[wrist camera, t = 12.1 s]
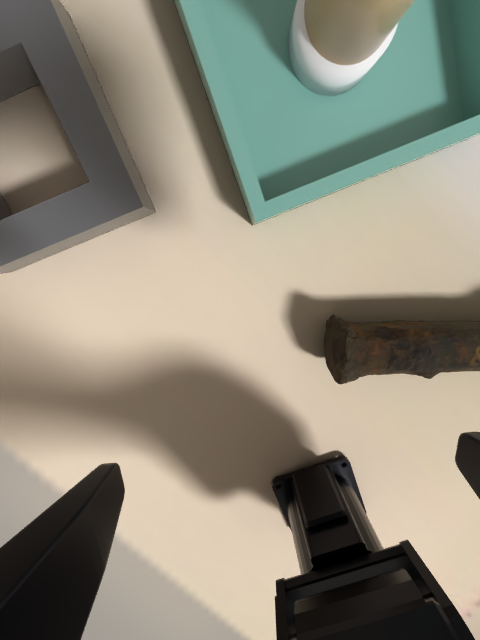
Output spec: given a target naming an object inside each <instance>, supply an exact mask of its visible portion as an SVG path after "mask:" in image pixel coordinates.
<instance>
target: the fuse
mask: <svg viewBox="0 0 480 640" xmlns="http://www.w3.org/2000/svg"><path fill="white" fill-rule="evenodd" d="M414 1H415V0H297V3H296V7H295V10H294V14H293V17H292V21H291V24H290V29H289V34H288V55H289V60H290V63H291V67H292V69H293V71H294V73H295V75H296V77H297V78H298V80H299V81H300V82H301V83H302V84H303V85H304V86H305V87H306V88H307V89H309V90H310V91H312V92H314V93H316V94H319V95H322V96H336V95H340V94H343V93H345V92H347V91H349V90H351V89H352V88H354V87H355V86H356V85H357V84H358V83H359V82H360V81H361V80H362V79H363V78H364V76H365V75H366V74H367V73H368V71H369V70H370V69H371V68H372V66H373V65H374V64H375V63H376V62H377V60H378V59H379V58H380V57H381V55H382V54H383V53H384V51H385V50H386V49H387V47H388V46H389V44H390V42H391V40H392V38H393V36H394V34H395V32H396V28H397V25H398V22H399V21H400V19H401V18H402V17H403V16H404V14H405V13H406V12H407V10H408V9H409V8H410V6H411V5H412V4H413V2H414Z"/></svg>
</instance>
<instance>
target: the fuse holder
mask: <svg viewBox="0 0 480 640" xmlns="http://www.w3.org/2000/svg"><path fill="white" fill-rule="evenodd" d="M39 83H41V84H42V86H43V88H44V90H45V92H46V94H47V96H48V98H49V101H50V103H51V105H52V107H53V109H54V111H55V113H56V115H57V117H58V119H59V121H60V123H61V125H62V127H63V129H64V131H65V133H66V135H67V137H68V139H69V141H70V143H71V145H72V147H73V149H74V151H75V154H76V156H77V158H78V160H79V162H80V164H81V166H82V168H83V170H84V172H85V174H86V176H87V178H88V180H89V182H88V183H85V184H83V185H81V186H78V187H76V188H74V189H71V190H69V191H67V192H65V193H62V194H60V195H58V196H55V197H53V198H51V199H48V200H46V201H44V202H41V203H39V204H37V205H34V206H32V207H30V208H27V209H25V210H23V211H20V212H18V213H16V214H12V212H11V211H10V209H9V207H8V206H7V204H6V202H5V200H4V199H3V197H2V195H1V194H0V274H1V273H8V272H13V271H15V270H18V269H20V268H22V267H25V266H27V265H30V264H32V263H34V262H37V261H39V260H42V259H44V258H47V257H49V256H51V255H54V254H56V253H59V252H61V251H63V250H66V249H68V248H71V247H73V246H75V245H78V244H80V243H83V242H85V241H88V240H90V239H92V238H95V237H97V236H100V235H102V234H104V233H107V232H109V231H112V230H114V229H116V228H119V227H121V226H124V225H126V224H129V223H131V222H133V221H136V220H138V219H141V218H143V217H145V216H148V215H150V214H153V213H155V212H156V211H155V208H154V206H153V204H152V202H151V199H150V197H149V195H148V192H147V190H146V188H145V186H144V183H143V181H142V179H141V177H140V174H139V172H138V170H137V167H136V165H135V163H134V161H133V158H132V156H131V154H130V151H129V149H128V147H127V145H126V142H125V140H124V138H123V136H122V133H121V131H120V129H119V126H118V124H117V122H116V120H115V117H114V115H113V113H112V110H111V108H110V106H109V104H108V101H107V99H106V97H105V95H104V92H103V90H102V88H101V85H100V83H99V81H98V79H97V76H96V74H95V72H94V70H93V67H92V65H91V63H90V60H89V58H88V56H87V54H86V51H85V49H84V47H83V44H82V42H81V40H80V38H79V35H78V33H77V31H76V29H75V26H74V24H73V22H72V19H71V17H70V15H69V13H68V12H67V11H66V9H65V8H64V6H63V5H62V4H61V2H60V1H59V0H0V101H3V100H5V99H7V98H9V97H11V96H13V95H15V94H18V93H20V92H22V91H24V90H26V89H28V88H31V87H33V86H35V85H37V84H39Z"/></svg>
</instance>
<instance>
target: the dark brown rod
mask: <svg viewBox="0 0 480 640" xmlns="http://www.w3.org/2000/svg"><path fill="white" fill-rule="evenodd" d="M324 354H325V359H326V364H327V367H328V369H329V371H330V372H331V374H332V376H333V378H334V380H335V381H336V382H337V383H338V384H344V383H347V382H350V381H354V380H356V379H358V378H359V377H363V376H366V375H384V374H386V375H387V374H400V373H402V374H411V375H418V376H422V377H424V378H428V379H431V378H432V377H434V376H435V375H437V374H438V373H441V372H460V371H480V322H467V321H449V322H423V321H418V322H416V321H394V322H381V323H348V322H344V321H342V320H341V319H340V318H338V317H336V316H335V315H332V316H331V317H330V319H328V320H327V323H326V332H325V336H324Z"/></svg>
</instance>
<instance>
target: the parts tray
mask: <svg viewBox="0 0 480 640" xmlns="http://www.w3.org/2000/svg"><path fill="white" fill-rule="evenodd" d="M174 3H175V6H176V9H177V11H178V14H179V17H180V20H181V23H182V26H183V29H184V31H185V34H186V37H187V40H188V43H189V46H190V49H191V52H192V54H193V57H194V60H195V63H196V66H197V69H198V72H199V74H200V77H201V80H202V83H203V86H204V89H205V92H206V95H207V97H208V100H209V103H210V106H211V109H212V112H213V115H214V117H215V120H216V123H217V126H218V129H219V132H220V135H221V138H222V140H223V143H224V146H225V149H226V152H227V155H228V158H229V160H230V163H231V166H232V169H233V172H234V175H235V178H236V181H237V183H238V186H239V189H240V192H241V195H242V198H243V201H244V203H245V206H246V209H247V212H248V215H249V218H250V221H251V223H252V225H255V224H257V223H260V222H262V221H265V220H267V219H270V218H272V217H275V216H277V215H280V214H282V213H285V212H287V211H290V210H292V209H295V208H297V207H299V206H302V205H304V204H307V203H309V202H312V201H314V200H317V199H319V198H322V197H324V196H327V195H329V194H332V193H334V192H337V191H339V190H342V189H344V188H347V187H349V186H352V185H354V184H357V183H359V182H362V181H364V180H367V179H369V178H372V177H374V176H377V175H379V174H382V173H384V172H387V171H389V170H392V169H394V168H397V167H399V166H402V165H404V164H407V163H409V162H412V161H414V160H417V159H419V158H422V157H424V156H427V155H429V154H432V153H434V152H437V151H439V150H442V149H444V148H447V147H449V146H452V145H454V144H457V143H459V142H462V141H464V140H467V139H469V138H471V137H473V136H476V135H478V134H480V0H415V1H414V2H413V4H412V5H411V6H410V8H409V9H408V10H407V12H406V13H405V14H404V16H403V17H402V18H401V19H400V21H399V22H398V25H397V28H396V32H395V34H394V36H393V38H392V40H391V42H390V44H389V46H388V47H387V49H386V50H385V51H384V53H383V54H382V55H381V57H380V58H379V59H378V60H377V62H376V63H375V64H374V65H373V66H372V68H371V69H370V70H369V71H368V73H367V74H366V75H365V76H364V78H363V79H362V80H361V81H360V82H359V83H358V84H357V85H356V86H355V87H354V88H352V89H351V90H349V91H347V92H345V93H343V94H340V95H336V96H322V95H319V94H316V93H314V92H312V91H310V90H309V89H307V88H306V87H305V86H304V85H303V84H302V83H301V82H300V81H299V80H298V78H297V77H296V75H295V73H294V71H293V69H292V67H291V63H290V60H289V55H288V34H289V29H290V24H291V21H292V17H293V14H294V10H295V7H296V3H297V0H174Z"/></svg>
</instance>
